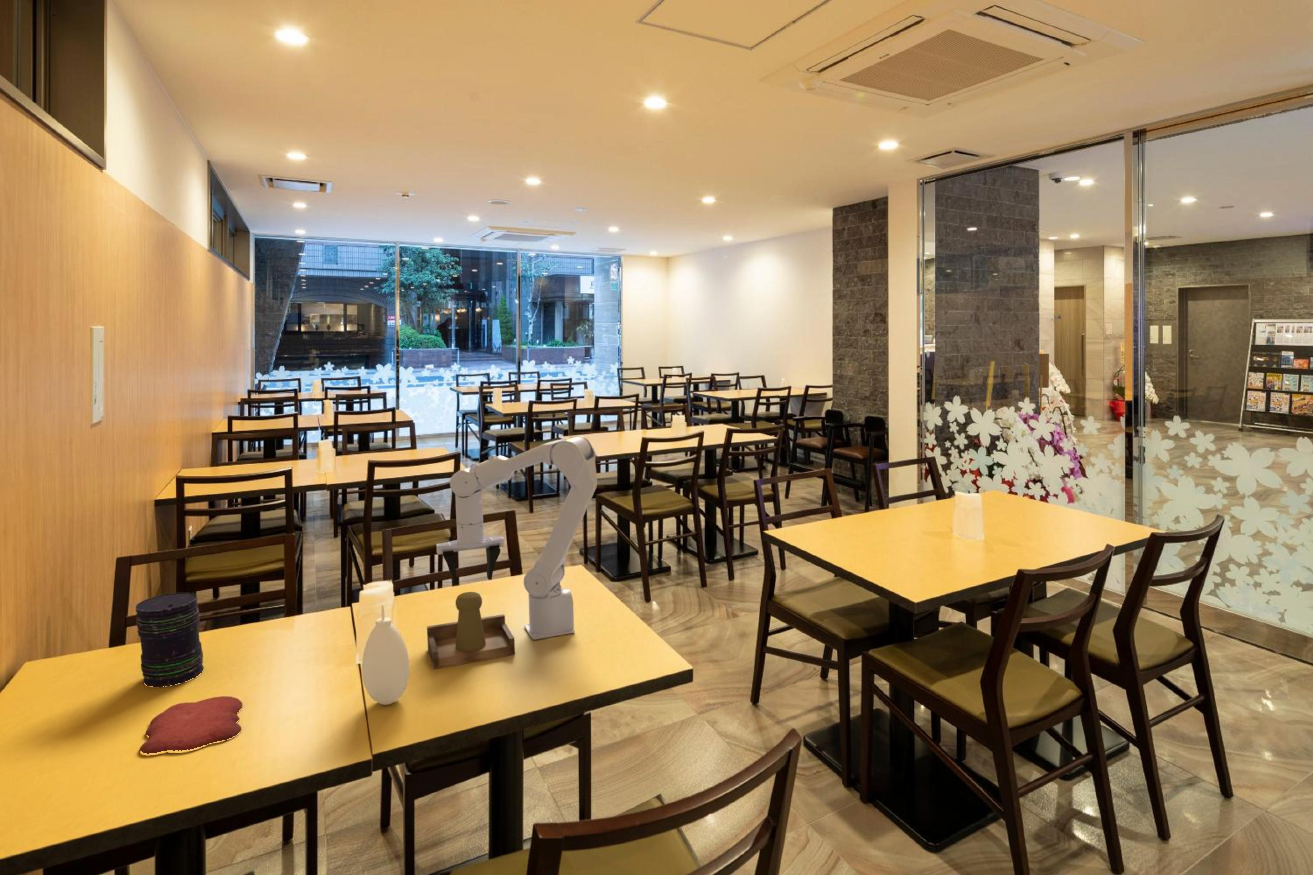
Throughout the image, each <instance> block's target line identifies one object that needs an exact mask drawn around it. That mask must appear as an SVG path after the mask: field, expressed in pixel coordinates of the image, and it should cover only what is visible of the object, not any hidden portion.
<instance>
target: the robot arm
mask: <svg viewBox="0 0 1313 875" xmlns="http://www.w3.org/2000/svg"><path fill="white" fill-rule="evenodd" d="M596 456H597V453H596V451H595V448H594V446H593V445H592V443H591V442H590V441H589V439H588V438H586V437H585V436H582V435H573V436H570V438H562V439H561V438H560V439H556V440H553V441H549V442H546V443H542V444H540V445H538V446H536V447H534V448H530V449H529V450H526V451H524V452H521V453H519V454H517V455H514V456H511V457H510V458H509V457H506V456H503V455H498V456H497V454H493V455H490V456H488V459H487V460H485V461H483V462H479V463H477V462H473V463H471V464H470V465H469V467H467V468H464V469H460V470H459V469H458V471H456V472H455V473H454V474H452V476H451V478H450V481H449V486H450V489H451V491H452V493H454V495H455V516H456V517H455V518H456V519H455V520H456V536H457V539H456V540H451V541H450V540H449V541H446V542H442V543H441V542H439V543H436V554H437V555H442V557H443V559H444V561H445V563H446V564H447V568H448V569H449V572H450V576H451V580H452V581H451V582H452V584H453V585H454V586H455V585H456V586H457V585H458V577H457V569H456V568H457V566H456V565H457V557H456V554H455V552H464V551H471V550H479V549H485V556H486V577H487V579H488V581H492V580H493V575H494V574H493V573H494V569H495V565H496V563H497V560H498V558H499V557H500V555H501V549H500V548H504V547H505V538H504V537H503V536H484V510H483V509H484V508H483V490H487V489H489V488H491V487H494V486H497V485H500V484H502V483H506V482H507V481H510V480H511V478H512V476H513V474H514V472H517V471H521V470H523V469H526V468H529V467H531V466H534V465H537V464H541V463H544V464H546V465H548V466H552V465H554V466H555V467H556V468H557V469H558V471H560V473H561V474H562V475H564V477H565V478H566V480H567V481H568V483H569V485H570V489H569V491H568V494H567V496H566V498H565V501H564V503H563V505H562V508H561V509H560V512H559V514H558V516H557V519H556V520H555V522H554V525H553V528H552V530H551V533H550V535H549V537H548V540H547V542H546V543H545V546H544V548H543V549H542V552H541V554H540V555H539V556H538V558H537V559H536V561H535V563H534V565H533V567H532V568H531V569H530V570H528V571H527V572H526V573H525V575H524V577H523V586H524V589H525V590H526V592H527V593H528V615H529V616H528V622H529V623H528V624H524V629H525V630H526V631H527V634H528V635H529V636H530V638H531V639H532V640H534V641H535V640H540V639H547V638H551V637H557V636H563V635H567V634H574V633H575V632H576V631H575V630H576V629H575V620H574V617H575V614H574V599H573V595H572V591H571V590H570V589H569V588H562V585H561V581H562V580H563V578H564V576H565V572H566V570H565V564H566V562H567V559H568V558H567V554H568V551H569V550H570V548H571V545H572V543H573V542H574V538H575V536H576V534H577V532H578V529H579V527H580V525H581V522H582V520H583V518H584V516H585V514H586V511H587V509H588V507H589V504H590V502H591V500H592V499H593V496H594V493H595V491H596V490H597V486H598V477H597V468H596Z"/></svg>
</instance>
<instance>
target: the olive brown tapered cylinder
mask: <svg viewBox="0 0 1313 875" xmlns="http://www.w3.org/2000/svg"><path fill="white" fill-rule="evenodd" d="M482 605H483V598H482V596H481V594H480V593H478V592H476V591H466V592H462V593H460V594H458V595H457V597H456V599H455V607H456V609H457V611H458V615H457V622H458V625H457V635H456V646H455V648H456V649H457V650H458V651H461V652H472V651H477V650H480V649H482V648H484V647H485V645H486V642H485V636H484V631H483V625H482V619H481V618H482V614H481V611H480V610H481V608H482Z"/></svg>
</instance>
